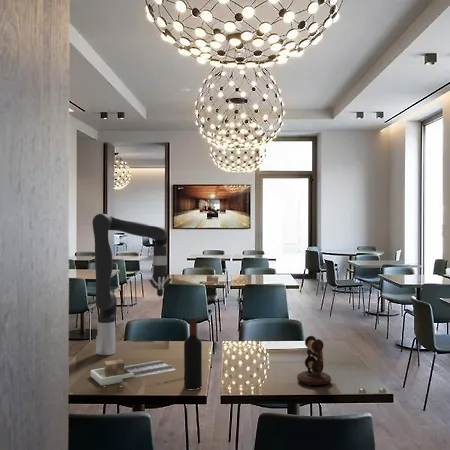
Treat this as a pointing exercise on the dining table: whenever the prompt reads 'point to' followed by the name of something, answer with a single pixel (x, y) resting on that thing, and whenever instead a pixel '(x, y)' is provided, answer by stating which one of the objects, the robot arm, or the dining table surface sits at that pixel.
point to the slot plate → (149, 368)
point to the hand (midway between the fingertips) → (160, 296)
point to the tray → (103, 380)
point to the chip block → (114, 368)
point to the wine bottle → (192, 359)
